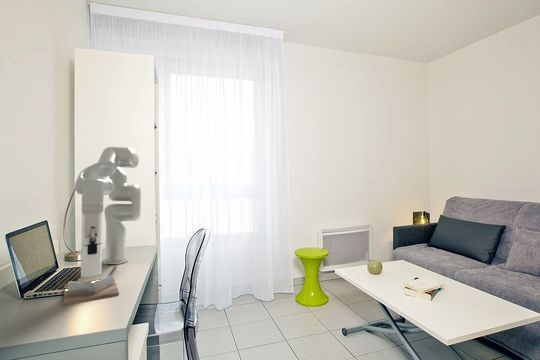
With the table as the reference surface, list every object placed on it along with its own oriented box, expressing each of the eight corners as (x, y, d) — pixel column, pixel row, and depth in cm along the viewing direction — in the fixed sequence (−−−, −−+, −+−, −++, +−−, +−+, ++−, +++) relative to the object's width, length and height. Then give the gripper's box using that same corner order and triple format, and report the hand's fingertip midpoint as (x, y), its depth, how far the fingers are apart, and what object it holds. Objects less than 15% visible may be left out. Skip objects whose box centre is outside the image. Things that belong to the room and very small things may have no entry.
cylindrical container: (91, 277, 114) (92, 214, 114) (76, 276, 115) (77, 213, 115) (105, 272, 121) (106, 212, 121) (90, 270, 122) (91, 211, 122)
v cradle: (64, 287, 121) (65, 274, 121) (113, 279, 132) (113, 268, 132) (63, 305, 105) (63, 291, 105) (118, 294, 115) (119, 282, 115)
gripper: (81, 206, 123) (80, 248, 123) (82, 211, 108) (81, 258, 109) (101, 206, 127) (100, 246, 127) (105, 210, 113) (104, 255, 113)
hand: (91, 251), depth 118 cm, fingers closed on cylindrical container, 7 cm apart
